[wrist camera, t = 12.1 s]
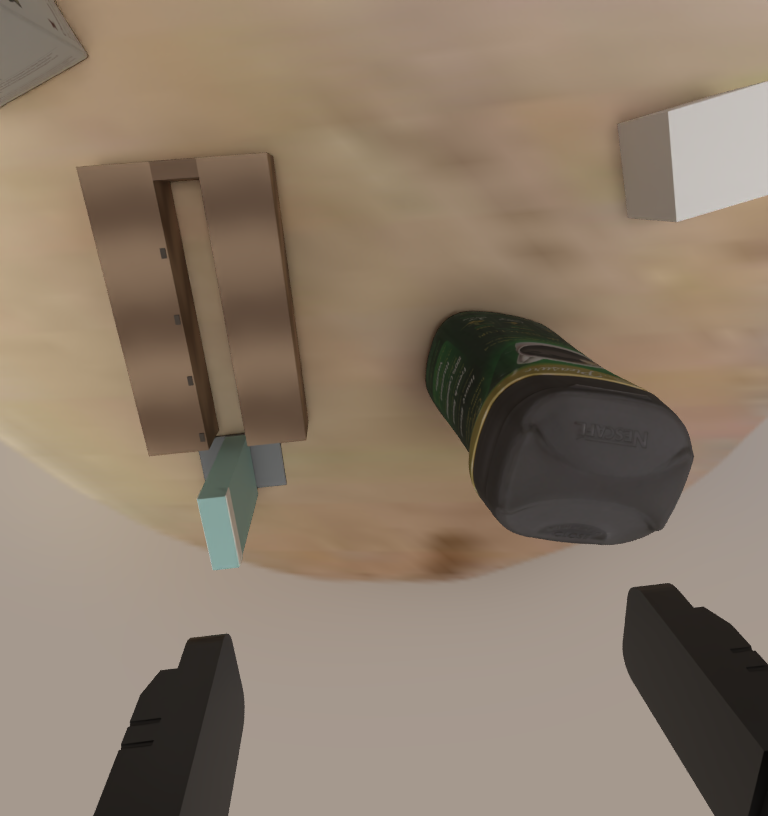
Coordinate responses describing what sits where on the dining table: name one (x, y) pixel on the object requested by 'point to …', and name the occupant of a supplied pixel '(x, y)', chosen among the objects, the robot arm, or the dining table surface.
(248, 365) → the wooden slotted block
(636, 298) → the dining table surface
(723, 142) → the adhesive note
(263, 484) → the mat
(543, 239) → the dining table surface
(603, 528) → the coffee jar
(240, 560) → the stub
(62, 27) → the supplement box
